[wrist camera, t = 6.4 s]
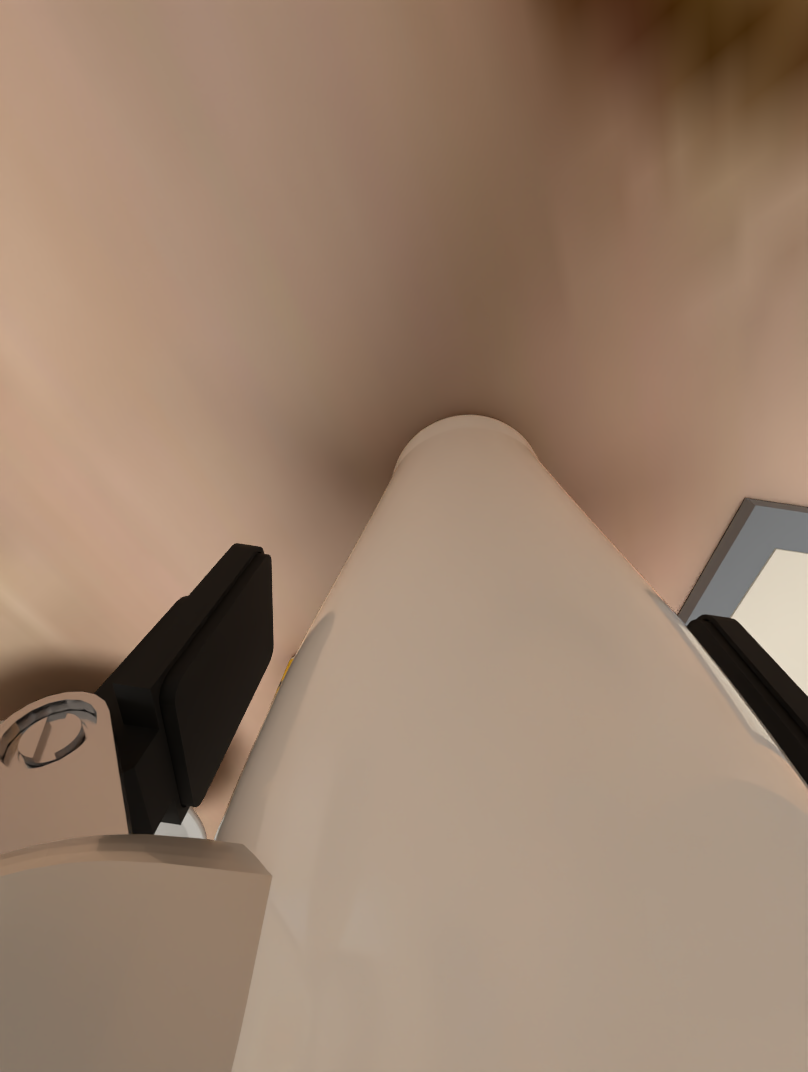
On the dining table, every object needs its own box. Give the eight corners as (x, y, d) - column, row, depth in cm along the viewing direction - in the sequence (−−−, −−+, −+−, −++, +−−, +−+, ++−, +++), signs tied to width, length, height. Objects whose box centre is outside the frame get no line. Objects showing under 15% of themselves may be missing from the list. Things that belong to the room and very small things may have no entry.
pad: (745, 498, 16) (757, 505, 15) (1082, 548, 15) (1107, 558, 15) (606, 740, 22) (610, 752, 22) (836, 776, 22) (847, 789, 22)
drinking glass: (581, 521, 17) (1082, 1373, 4) (422, 580, 18) (365, 1262, 5) (520, 350, 14) (1757, 1331, 1) (341, 440, 16) (-153, 1140, 3)
